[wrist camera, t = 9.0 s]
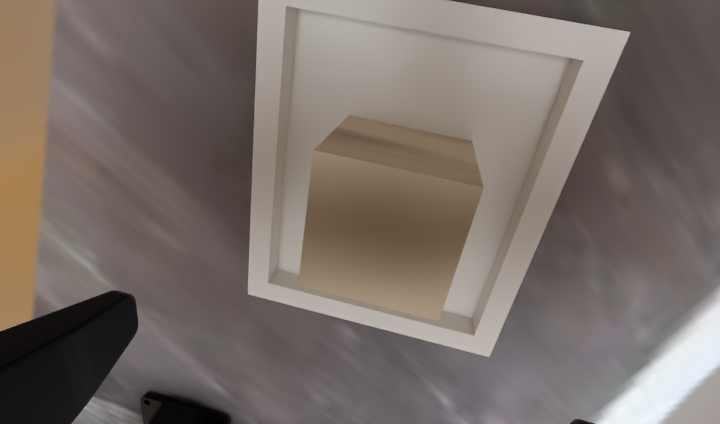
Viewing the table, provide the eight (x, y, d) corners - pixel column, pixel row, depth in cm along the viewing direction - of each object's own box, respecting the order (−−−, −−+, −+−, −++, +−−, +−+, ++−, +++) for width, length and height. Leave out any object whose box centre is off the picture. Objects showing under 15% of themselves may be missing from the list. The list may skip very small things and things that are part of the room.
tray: (485, 327, 20) (489, 356, 18) (264, 271, 21) (247, 294, 19) (606, 31, 14) (630, 32, 12) (281, -26, 15) (259, -33, 13)
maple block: (439, 246, 18) (438, 321, 13) (333, 221, 18) (297, 284, 14) (471, 140, 15) (484, 187, 11) (349, 115, 16) (313, 149, 11)
